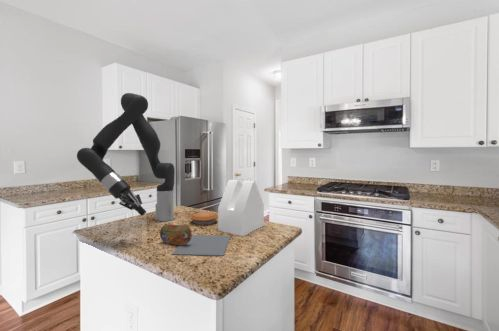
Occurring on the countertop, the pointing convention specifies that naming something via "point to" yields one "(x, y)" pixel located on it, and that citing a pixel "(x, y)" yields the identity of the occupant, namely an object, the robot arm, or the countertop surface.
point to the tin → (175, 234)
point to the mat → (204, 246)
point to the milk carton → (240, 208)
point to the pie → (204, 218)
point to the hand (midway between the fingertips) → (144, 213)
